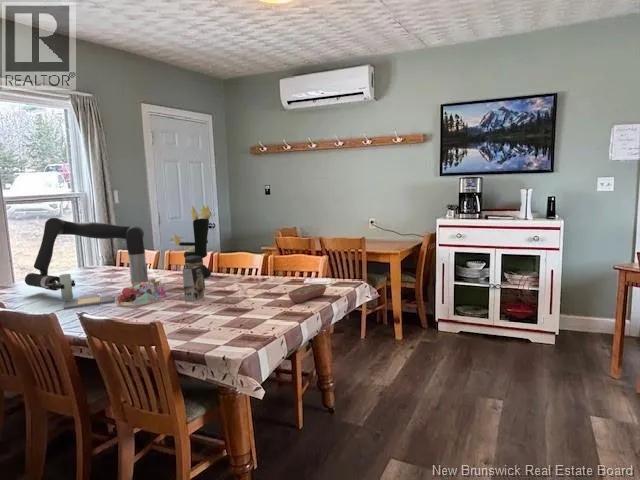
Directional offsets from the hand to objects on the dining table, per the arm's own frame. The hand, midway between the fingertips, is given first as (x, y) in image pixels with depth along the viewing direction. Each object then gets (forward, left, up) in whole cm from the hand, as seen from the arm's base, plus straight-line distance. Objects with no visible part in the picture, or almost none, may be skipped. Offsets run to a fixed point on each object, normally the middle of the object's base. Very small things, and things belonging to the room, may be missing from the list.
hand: (68, 285), depth 232 cm
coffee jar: (-61, +17, -8) cm, 63 cm away
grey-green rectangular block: (+1, -2, -8) cm, 8 cm away
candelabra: (-70, -14, -8) cm, 72 cm away
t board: (-9, +8, -8) cm, 14 cm away
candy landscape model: (-33, +21, -8) cm, 40 cm away
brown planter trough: (-102, +71, -8) cm, 124 cm away
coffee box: (-56, +37, -8) cm, 67 cm away
